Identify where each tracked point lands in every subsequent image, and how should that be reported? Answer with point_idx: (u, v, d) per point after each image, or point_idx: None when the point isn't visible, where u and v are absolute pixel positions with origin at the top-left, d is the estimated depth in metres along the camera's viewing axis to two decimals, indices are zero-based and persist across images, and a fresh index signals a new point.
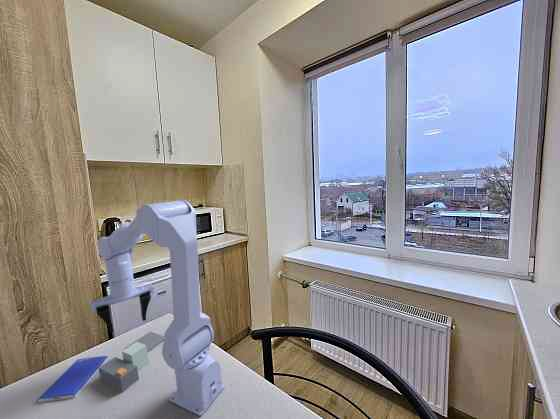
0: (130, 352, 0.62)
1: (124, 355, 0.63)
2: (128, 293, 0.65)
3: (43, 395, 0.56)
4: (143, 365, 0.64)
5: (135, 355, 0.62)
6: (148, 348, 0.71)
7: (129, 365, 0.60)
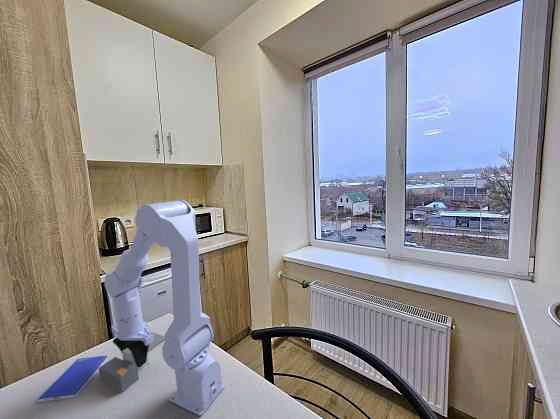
0: (130, 352, 0.62)
1: (124, 355, 0.63)
2: (122, 334, 0.60)
3: (43, 395, 0.56)
4: (143, 365, 0.64)
5: None
6: (148, 348, 0.71)
7: (129, 365, 0.60)
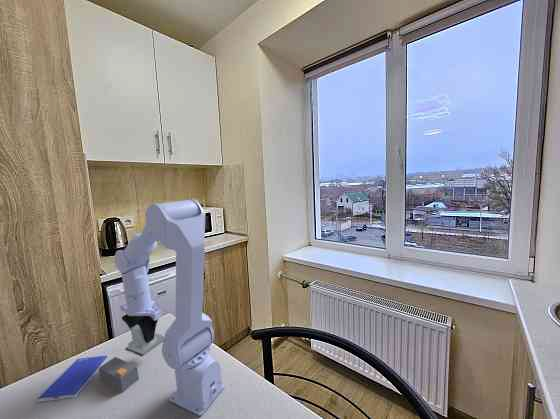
0: (139, 329, 0.64)
1: (133, 332, 0.65)
2: (131, 310, 0.62)
3: (43, 395, 0.56)
4: (151, 342, 0.66)
5: None
6: (148, 348, 0.71)
7: (129, 365, 0.60)
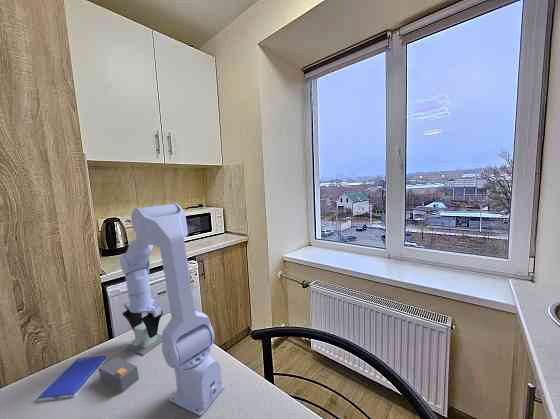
0: (141, 328, 0.72)
1: (136, 331, 0.72)
2: (134, 308, 0.70)
3: (43, 394, 0.57)
4: (152, 340, 0.73)
5: (145, 330, 0.72)
6: (148, 348, 0.71)
7: (129, 365, 0.60)
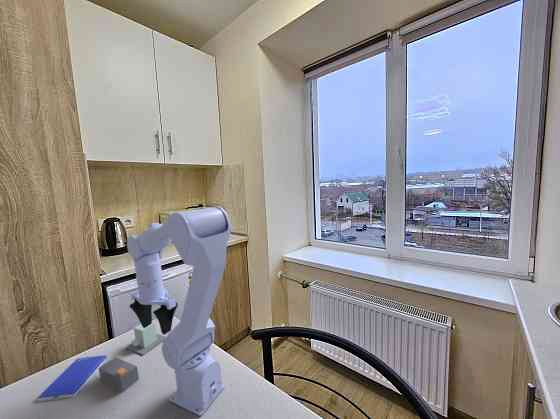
0: (141, 328, 0.72)
1: (136, 331, 0.72)
2: (144, 299, 0.59)
3: (42, 394, 0.57)
4: (152, 340, 0.73)
5: (145, 330, 0.72)
6: (148, 348, 0.71)
7: (129, 365, 0.60)
